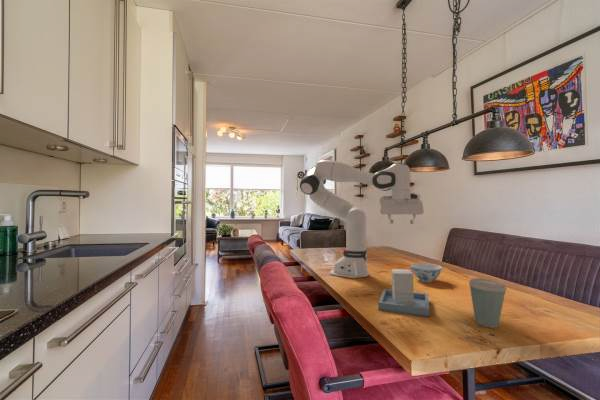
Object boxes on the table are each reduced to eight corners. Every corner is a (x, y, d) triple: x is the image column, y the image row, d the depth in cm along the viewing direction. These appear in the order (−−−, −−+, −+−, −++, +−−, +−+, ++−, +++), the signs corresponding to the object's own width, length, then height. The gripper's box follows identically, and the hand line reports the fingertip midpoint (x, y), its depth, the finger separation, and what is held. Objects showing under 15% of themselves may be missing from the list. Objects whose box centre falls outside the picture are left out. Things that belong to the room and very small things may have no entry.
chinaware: (404, 279, 152) (404, 264, 152) (424, 275, 158) (424, 262, 158) (427, 286, 138) (427, 270, 138) (448, 282, 144) (448, 267, 144)
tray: (378, 310, 108) (378, 302, 108) (383, 295, 125) (383, 289, 125) (429, 317, 101) (429, 308, 101) (428, 300, 118) (427, 293, 118)
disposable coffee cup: (471, 315, 102) (471, 274, 103) (508, 323, 96) (507, 279, 96) (466, 325, 94) (466, 280, 94) (506, 334, 87) (505, 286, 88)
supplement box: (410, 299, 117) (409, 269, 117) (414, 305, 110) (413, 273, 110) (391, 298, 118) (391, 268, 118) (394, 304, 111) (393, 273, 111)
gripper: (378, 196, 140) (379, 223, 140) (423, 195, 132) (423, 224, 132) (380, 196, 146) (380, 222, 146) (423, 195, 138) (423, 223, 138)
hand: (401, 223), depth 139 cm, fingers open, 8 cm apart
